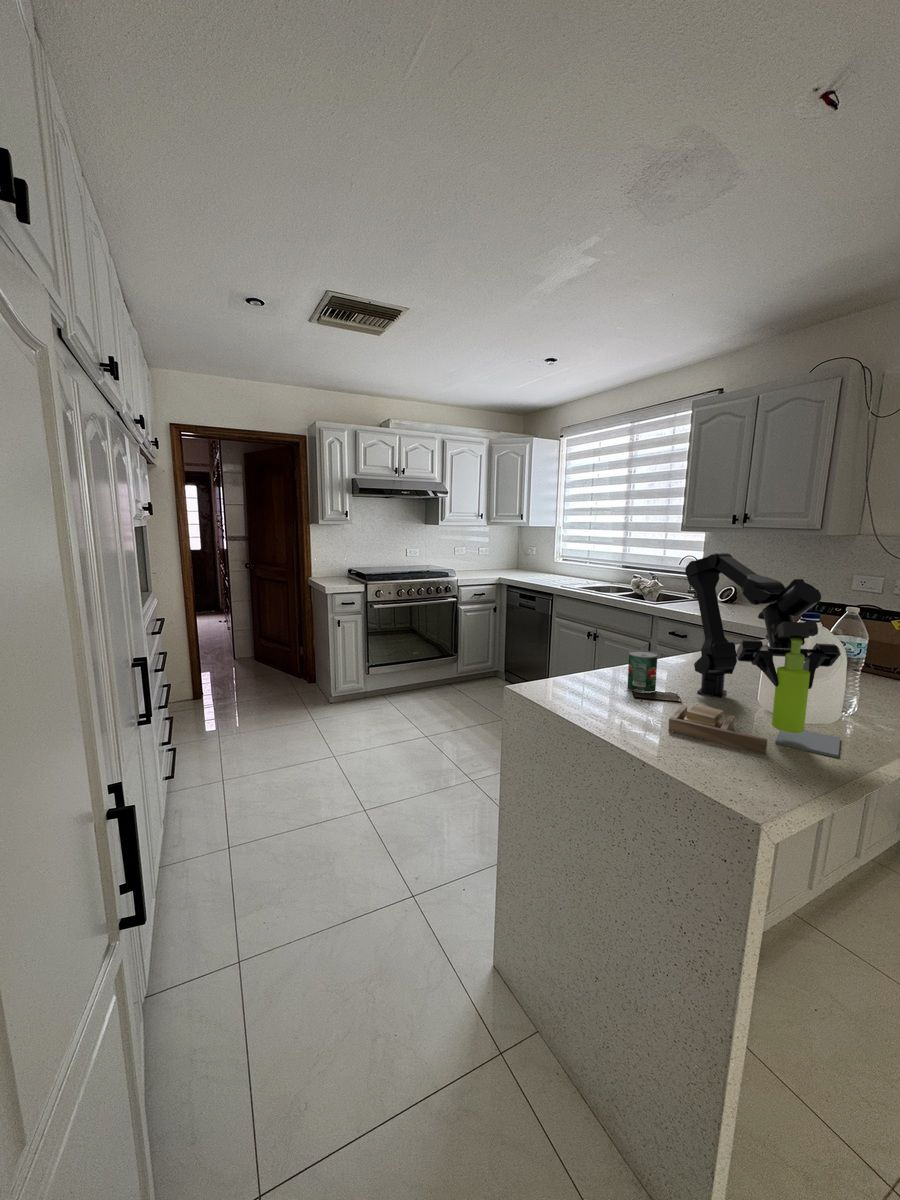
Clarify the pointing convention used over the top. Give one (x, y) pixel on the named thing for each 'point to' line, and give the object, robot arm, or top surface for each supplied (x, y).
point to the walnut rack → (716, 732)
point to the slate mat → (810, 742)
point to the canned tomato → (642, 670)
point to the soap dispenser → (791, 691)
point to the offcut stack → (705, 716)
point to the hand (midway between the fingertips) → (793, 686)
